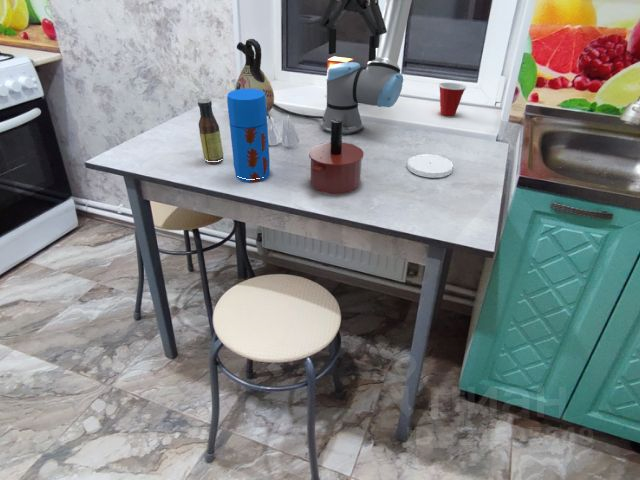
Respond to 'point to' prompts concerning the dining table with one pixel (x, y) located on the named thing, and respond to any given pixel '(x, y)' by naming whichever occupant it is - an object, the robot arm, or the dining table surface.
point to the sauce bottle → (209, 133)
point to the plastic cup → (450, 98)
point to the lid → (336, 149)
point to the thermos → (249, 134)
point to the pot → (335, 178)
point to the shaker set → (288, 133)
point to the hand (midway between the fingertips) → (351, 56)
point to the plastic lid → (430, 165)
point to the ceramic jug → (254, 72)
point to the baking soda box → (337, 61)
